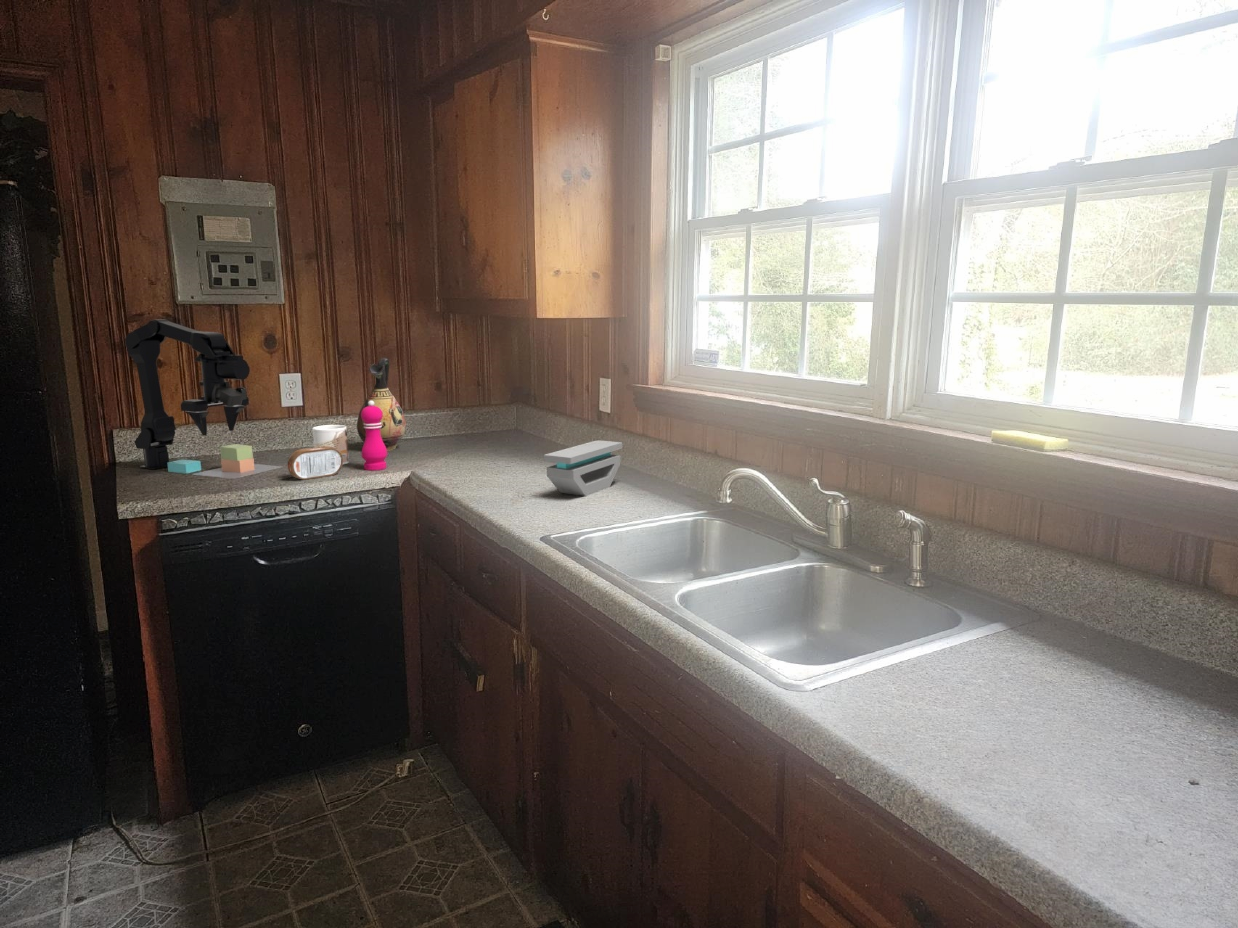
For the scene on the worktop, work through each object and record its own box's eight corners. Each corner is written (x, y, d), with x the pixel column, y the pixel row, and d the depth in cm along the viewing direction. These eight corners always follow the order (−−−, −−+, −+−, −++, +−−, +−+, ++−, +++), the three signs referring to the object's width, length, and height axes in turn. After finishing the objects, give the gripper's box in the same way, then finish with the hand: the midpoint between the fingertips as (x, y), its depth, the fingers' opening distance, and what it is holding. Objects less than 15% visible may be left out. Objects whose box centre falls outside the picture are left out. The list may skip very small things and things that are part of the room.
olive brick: (221, 458, 230) (220, 446, 229) (236, 455, 234) (235, 444, 234) (237, 460, 227) (236, 448, 226) (252, 457, 231) (251, 445, 230)
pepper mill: (380, 471, 232) (376, 402, 228) (357, 470, 234) (353, 401, 230) (392, 466, 239) (388, 399, 235) (370, 465, 241) (365, 398, 237)
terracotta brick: (222, 471, 230) (220, 459, 230) (236, 467, 235) (235, 456, 234) (240, 472, 228) (239, 460, 227) (254, 469, 232) (253, 457, 232)
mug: (305, 464, 242) (303, 428, 240) (333, 457, 253) (331, 423, 251) (333, 467, 238) (331, 430, 236) (360, 460, 249) (358, 424, 247)
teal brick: (168, 474, 230) (167, 462, 229) (183, 471, 235) (182, 459, 234) (186, 476, 228) (185, 464, 227) (201, 472, 232) (200, 461, 232)
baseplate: (191, 476, 226) (191, 474, 226) (242, 464, 242) (242, 462, 242) (234, 480, 220) (233, 478, 220) (283, 468, 237) (283, 466, 236)
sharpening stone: (597, 479, 221) (597, 440, 218) (622, 482, 217) (622, 442, 215) (544, 498, 199) (543, 454, 197) (571, 501, 195) (570, 457, 193)
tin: (340, 472, 231) (338, 443, 229) (345, 474, 229) (343, 445, 227) (288, 480, 220) (285, 450, 219) (293, 482, 218) (290, 451, 217)
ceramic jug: (399, 453, 260) (394, 360, 255) (352, 453, 261) (345, 360, 255) (413, 444, 277) (408, 356, 271) (368, 444, 277) (363, 356, 272)
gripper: (207, 382, 215) (212, 440, 218) (261, 376, 232) (265, 430, 235) (176, 380, 219) (182, 437, 222) (232, 374, 236) (236, 427, 239)
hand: (218, 433), depth 229 cm, fingers open, 9 cm apart
